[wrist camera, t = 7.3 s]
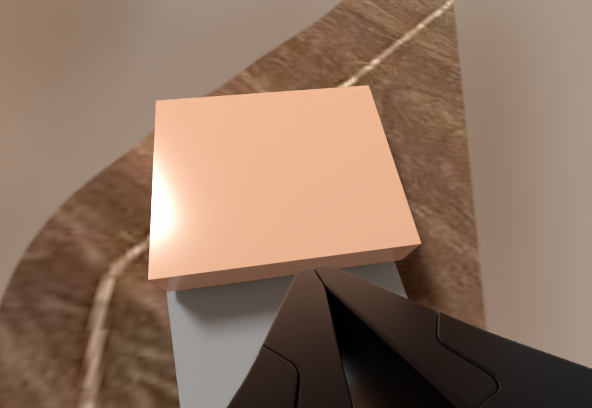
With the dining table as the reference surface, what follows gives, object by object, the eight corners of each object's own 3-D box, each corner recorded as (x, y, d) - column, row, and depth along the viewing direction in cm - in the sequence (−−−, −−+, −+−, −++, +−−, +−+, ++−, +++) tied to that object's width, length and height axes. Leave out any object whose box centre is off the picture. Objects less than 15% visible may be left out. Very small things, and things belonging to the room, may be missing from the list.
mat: (424, 361, 15) (430, 363, 15) (187, 434, 14) (184, 439, 13) (365, 189, 18) (368, 185, 18) (162, 232, 16) (159, 229, 16)
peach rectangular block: (421, 243, 14) (368, 85, 17) (147, 279, 12) (155, 100, 16) (400, 260, 16) (357, 117, 20) (168, 292, 15) (170, 133, 18)
